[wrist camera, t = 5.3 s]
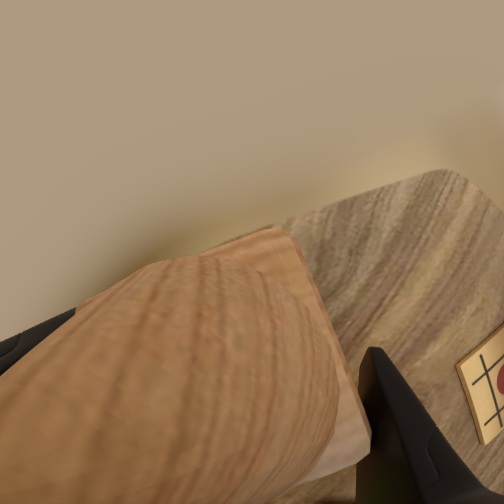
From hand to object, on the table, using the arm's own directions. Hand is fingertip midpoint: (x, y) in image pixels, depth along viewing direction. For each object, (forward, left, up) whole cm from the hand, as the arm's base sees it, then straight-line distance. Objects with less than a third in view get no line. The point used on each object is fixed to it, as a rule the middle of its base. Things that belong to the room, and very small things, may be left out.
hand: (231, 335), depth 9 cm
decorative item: (-1, -1, -11) cm, 11 cm away
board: (+16, -13, -11) cm, 23 cm away
